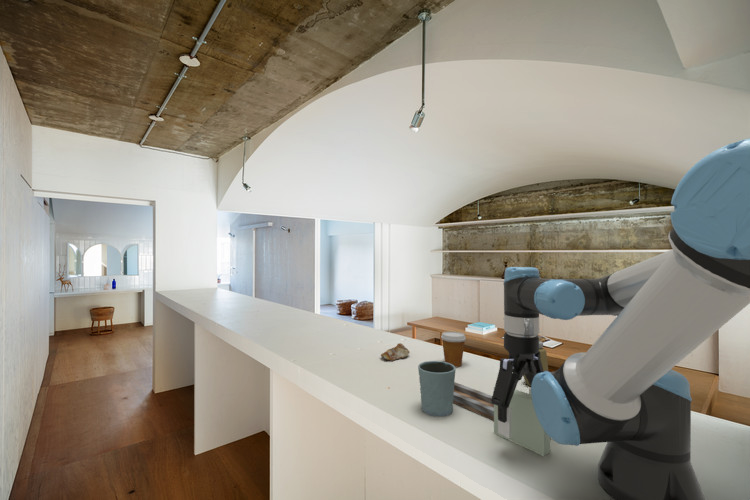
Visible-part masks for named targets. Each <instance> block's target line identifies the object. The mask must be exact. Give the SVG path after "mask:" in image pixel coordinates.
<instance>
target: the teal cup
mask: <svg viewBox="0 0 750 500" xmlns="http://www.w3.org/2000/svg"><path fill="white" fill-rule="evenodd" d="M456 369H457V367H455V366H454V365H452V364H450V363H447V362H445V361H442V360H429V361H427V360H426V361H423V362H421V363H419V364H418V375H419V377H418V379H419V380H418V381H419V386H420V388H419V389H420V401H421V402H420V404H421V405H420V406H421V410H422V412H423V413H425V415H429V416H433V417H447V416H450V415H452V413H453V410H454V405H453V404H454V403H453V397H454V396H453V394H454V392H453V391H454V382H456V381H455V380H456V379H455V378H456Z"/></svg>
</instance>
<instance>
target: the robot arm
mask: <svg viewBox="0 0 750 500" xmlns="http://www.w3.org/2000/svg"><path fill="white" fill-rule="evenodd" d="M670 204H671V206H673V209H674V211H671V212H670V221H671V225H672V228H671V230H670V231H669V232H668V234H667V235H668V241H669V244H670V246H671V249H670V250H669V249H668V250H667V251H664V252H662V253H660V254H657V255H655V256H652V257H650V258H647V259H645V260H642V261H640V262H638V263H637V262H636V263H635V264H632V265H630V266H627V267H625V268H622V269H619V270H617V271H615V272H613V273H611V274H608V275H606V276H603V277H598V278H543V277H541V275H540V270H539V269H538V268H537V267H532V266H509V267H506V268H505V271H504V278H503V279H504V281H503V315H504V317H503V331H504V334H503V347H504V348H503V349H504V350H505V351H507V352H508V358H503V357H501V358H500V360H499V370H498V373H497V376H496V382H495V386H494V387H495V388H494V387H493V393H492V395H491V396H492V400H491V403H492V404H495V405H497V406H498V433H499V434H501V435H503V436H505V437H507V438H511V407H510V406H509V404H510V402H511V399H512V396H513V394H514V391H515V389H516V388H517V385H518V383H519V381H522V379H523V377H524V375H525V376H526V378H527V380H528V382H529V384H530V385H531V386H530V388H528V394H531V395H532V402H533V406H534V410H535V413H536V415H537V418H538V420H539V422H540V424H541V426H542V428H543V429H544V431H545V432H546V433H547V435H548V436H549V437H550V438H551V439H552V441H554V442H555V443H557V444H559V445H562V446H575V447H578V446H580V445H587V444H589V445H590V444H599V443H606V445H605V447H604V449H603V452H602V454H601V456H600V459H599V461H598V464H597V478H598V479H597V480H598V481H599V484H600V486H601V487H602V488H603V489H604V490H605V492H606V493H607V494H609V496H611V497H612V498H613V499H614V500H705V496H704V494H703V491H702V488H701V485H700V482H699V480H698V476H697V475H696V472H695V469H694V467H693V464H692V460H691V457H692V455H691V453H692V452H691V450H692V449H691V448H692V446H691V434H692V433H691V431H692V428H691V427H692V422H691V420H692V419H691V418H692V416H691V415H692V413H691V412H692V411H691V410H692V409H691V408H692V405H691V404H692V401H693V399H692V396H691V387H690V386H691V385H690V382H689V380H688V378H687V377H686V376H685V375H683V374H682V373H680V372H678V371H676V370H673V368H674V367H675V366H677V364H679V363H680V362H681V361H683V360H684V359H685V358H686V357H688V356H689V355H690V354H691V353H693V351H695V350H696V349H697V348H698V347H699V346H700V345H702V344H703V343H704V342H706V341H707V339H709V338H710V337H711V336H713V334H715V333H716V332H717V331H718V330H719V329H721V328H722V327H723V326H724V325H726V323H728V322H729V321H730V320H732V319H733V318H735V316H736V315H738V314H739V313H740V312H742V311H743V310H744V309H745V308H746V307H747V306H748V305H750V137H749V138H745V139H741V140H738V141H735V142H732V143H728V144H727V145H723V146H722V147H719V148H717V149H716V150H714V151H711V152H709V154H707V155H706V156H704V157H702V158H701V159H700V160H698V161H697V162H696V163H695V164H694V165H693V166H692V167H691V168H690V169H689V170H688V171H687V172H686V173H685V174H684V175H683V177H682V178H681V179H680V181H679V182H678V183H677V186H676V188H675V189H674V192H673V194H672V197H671V202H670ZM540 315H542V316H545V317H549V318H550V319H552V320H562V321H568V320H569V321H570V320H573V319H574V318H576V317H579V316H582V317H584V316H586V317H587V316H614V317H615V316H616V317H615V318H614V319H613V321H612V322H611V323H610V324H609V325H608V327H607V328H606V329H605V330H604V331H603V333H602V334H601V335H600V336H599V337H598V338H597V339H596V340H595V342H594V343H593V344H592V345H591V347H590V348H589V349H587V351H586V352H584V351H583V352H581V351H580V352H575V353H572V354H571V355H569V356H568V357H567V358H566V359H565V361H564V362H563V363H562V365H560V367H559V368H558V369H557V370H555V371H549V370H548V371H545V372H544V371H543V367H542V363H541V358H540V351H539V341H540V337H538V336H539V334H540ZM537 334H538V336H537Z"/></svg>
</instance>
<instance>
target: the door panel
mask: <svg viewBox="0 0 750 500" xmlns="http://www.w3.org/2000/svg"><path fill="white" fill-rule="evenodd" d="M494 388H495V386H494V387H493V389H494ZM509 406H510V407H511V438H507V437H505V436H503V435H501V434H499V433H498V406H497V405H495V404H494V420H493V433H494V434H495V435H498V436H500V437H501V438H503V439H505V440H508V441H511V442H513V443H515V444H517V445H519V446H521V447H523V448H526V449H528V450H530V451H532V452H534V453H536V454H538V455H541V456H543V457H545V456H547V455H548V454H549V453H550V452H551V450H552V449H551V448H552V447H551V445H552V444H551V442H552V441H551V439H552V438H550V437H549V436H548V435H547V433H546V432H545V431H544V429H543V428H542V426H541V424H540V422H539V420H538V418H537V415H536V413H535V410H534V406H533V402H532V395H531V394H529V392H525V391H522V390H518V389H516V388H515V391H514V394H513V396H512V399H511V402H510V404H509Z"/></svg>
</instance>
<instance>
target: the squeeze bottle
mask: <svg viewBox="0 0 750 500" xmlns="http://www.w3.org/2000/svg"><path fill="white" fill-rule="evenodd" d="M537 336H538V337H539V334H537ZM539 338H540V337H539ZM539 351H540V358H541V363H542V367H543V371H544V372H545V371H549V364H548V355H547V350H546V349H545V348H544V342H543V341H541V340H539ZM523 379H524V382H525V384H526V385H527V386H529V387H531V385H530V384H529V382H528V380H527V378H526V376H525V375H524V376H523Z"/></svg>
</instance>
